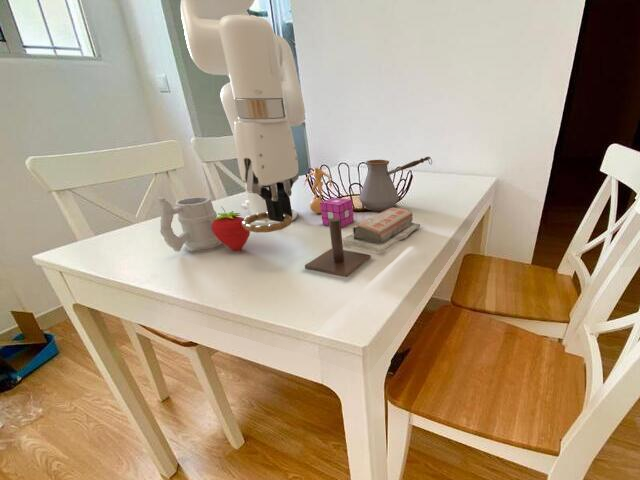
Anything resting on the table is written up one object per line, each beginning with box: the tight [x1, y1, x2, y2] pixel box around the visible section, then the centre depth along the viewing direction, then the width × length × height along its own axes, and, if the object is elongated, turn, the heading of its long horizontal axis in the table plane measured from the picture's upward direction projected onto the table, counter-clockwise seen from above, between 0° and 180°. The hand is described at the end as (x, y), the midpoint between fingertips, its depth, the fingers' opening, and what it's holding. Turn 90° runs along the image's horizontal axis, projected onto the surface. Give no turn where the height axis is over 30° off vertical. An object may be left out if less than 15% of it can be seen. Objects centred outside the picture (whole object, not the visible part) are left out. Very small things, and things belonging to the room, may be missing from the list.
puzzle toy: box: [320, 196, 355, 229], centre depth 86 cm, size 6×6×6 cm
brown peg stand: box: [304, 218, 372, 278], centre depth 64 cm, size 9×9×9 cm
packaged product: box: [342, 207, 421, 253], centre depth 78 cm, size 18×5×10 cm
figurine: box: [303, 166, 333, 214], centre depth 93 cm, size 8×6×12 cm
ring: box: [242, 212, 293, 234], centre depth 62 cm, size 8×8×1 cm
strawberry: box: [212, 205, 251, 252], centre depth 69 cm, size 6×8×10 cm
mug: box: [157, 196, 223, 253], centre depth 70 cm, size 8×12×12 cm, turn 158°
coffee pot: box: [358, 156, 433, 212], centre depth 95 cm, size 21×12×15 cm, turn 69°
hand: (281, 218), depth 65 cm, fingers closed on ring, 1 cm apart
